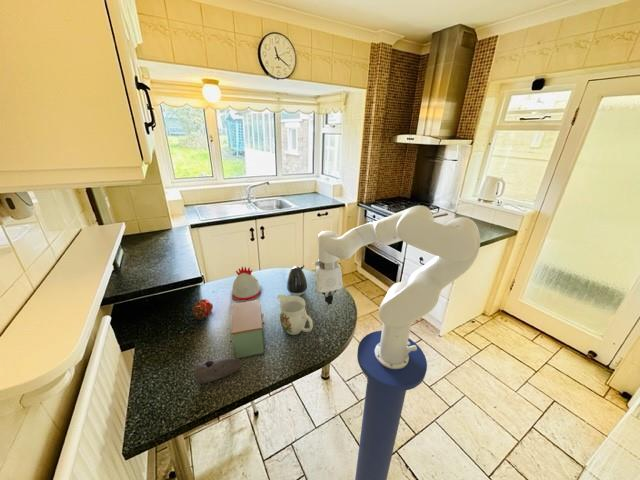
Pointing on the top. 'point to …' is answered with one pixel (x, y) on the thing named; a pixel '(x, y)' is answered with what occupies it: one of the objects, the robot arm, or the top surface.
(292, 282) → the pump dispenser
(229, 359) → the perforated stone tool
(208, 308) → the dragon fruit
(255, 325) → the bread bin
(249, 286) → the grey rounded dome
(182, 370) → the top surface
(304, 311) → the pitcher
